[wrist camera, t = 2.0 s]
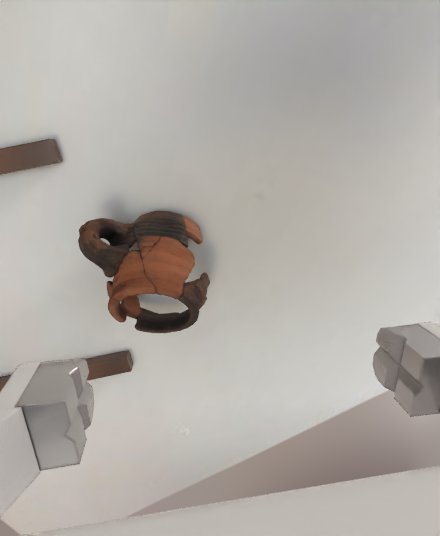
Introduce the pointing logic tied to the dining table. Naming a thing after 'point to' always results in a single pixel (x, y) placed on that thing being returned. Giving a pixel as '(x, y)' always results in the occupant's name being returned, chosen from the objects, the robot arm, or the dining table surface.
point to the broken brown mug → (147, 267)
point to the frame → (41, 156)
